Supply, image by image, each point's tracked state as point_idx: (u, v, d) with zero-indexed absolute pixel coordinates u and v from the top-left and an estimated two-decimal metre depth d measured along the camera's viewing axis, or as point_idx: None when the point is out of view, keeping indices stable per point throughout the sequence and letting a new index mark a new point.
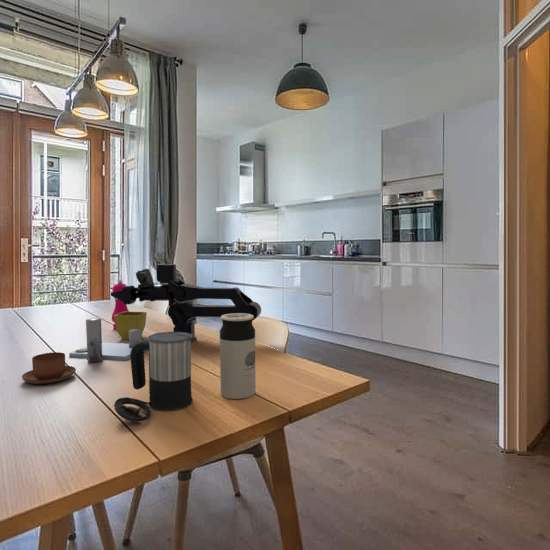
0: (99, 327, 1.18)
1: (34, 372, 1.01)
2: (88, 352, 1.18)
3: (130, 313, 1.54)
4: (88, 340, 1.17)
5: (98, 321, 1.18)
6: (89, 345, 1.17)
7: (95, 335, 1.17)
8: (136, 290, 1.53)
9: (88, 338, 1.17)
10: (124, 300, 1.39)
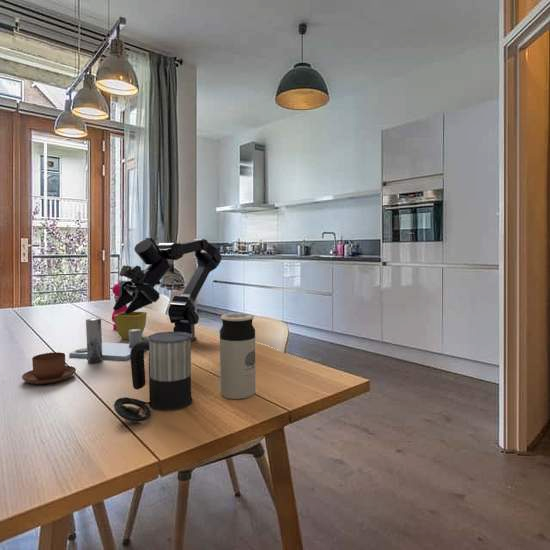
0: (99, 327, 1.18)
1: (34, 372, 1.01)
2: (88, 352, 1.18)
3: (130, 313, 1.54)
4: (88, 340, 1.17)
5: (98, 321, 1.18)
6: (89, 345, 1.17)
7: (95, 335, 1.17)
8: (123, 298, 1.30)
9: (88, 338, 1.17)
10: (154, 297, 1.22)
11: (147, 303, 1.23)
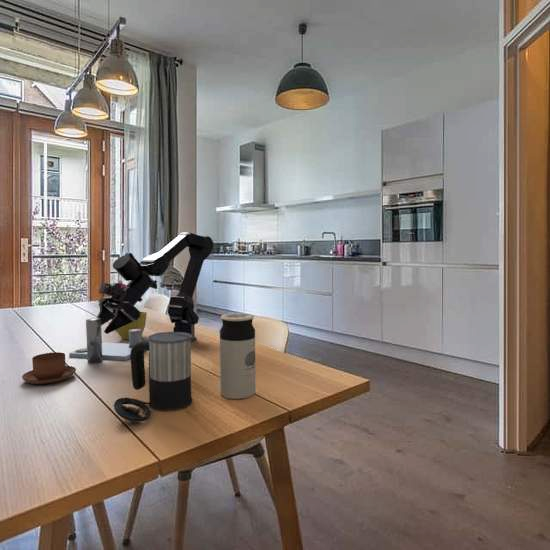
0: (99, 327, 1.18)
1: (34, 372, 1.01)
2: (88, 352, 1.18)
3: None
4: (88, 340, 1.17)
5: (98, 321, 1.18)
6: (89, 345, 1.17)
7: (95, 335, 1.17)
8: (103, 315, 1.25)
9: (88, 338, 1.17)
10: (135, 316, 1.17)
11: (128, 322, 1.19)
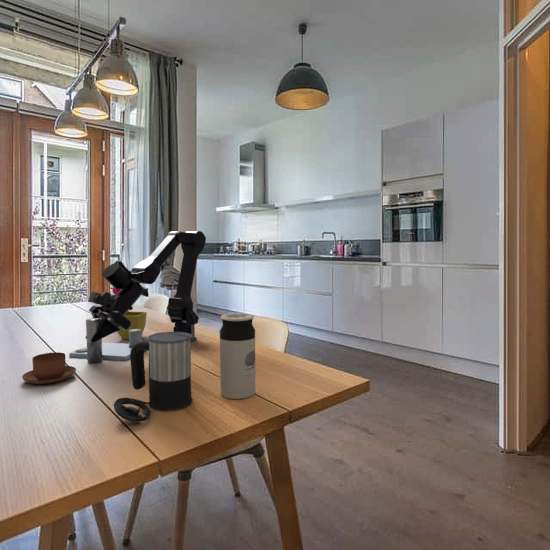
0: None
1: (34, 372, 1.01)
2: (88, 352, 1.18)
3: (130, 313, 1.54)
4: (88, 340, 1.17)
5: (98, 321, 1.18)
6: (89, 345, 1.17)
7: None
8: None
9: (88, 338, 1.17)
10: (125, 326, 1.16)
11: (114, 330, 1.19)
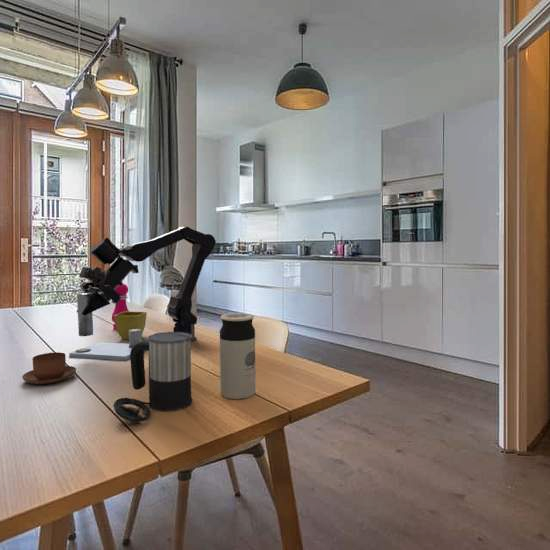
0: None
1: (34, 372, 1.01)
2: (79, 325, 1.22)
3: (130, 313, 1.54)
4: (79, 313, 1.22)
5: (88, 295, 1.22)
6: (80, 318, 1.22)
7: None
8: None
9: (79, 311, 1.22)
10: (115, 299, 1.20)
11: (105, 304, 1.23)
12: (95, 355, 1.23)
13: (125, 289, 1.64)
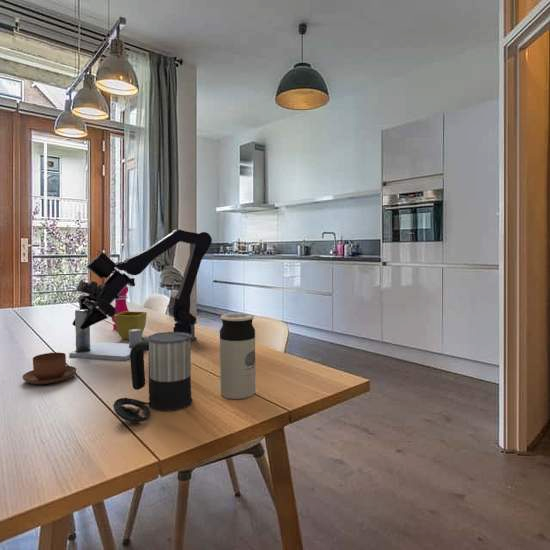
0: None
1: (35, 372, 1.01)
2: (76, 341, 1.25)
3: (130, 313, 1.54)
4: (77, 329, 1.25)
5: (86, 312, 1.25)
6: (78, 334, 1.25)
7: None
8: None
9: (77, 327, 1.25)
10: (110, 313, 1.23)
11: (103, 318, 1.25)
12: (95, 355, 1.23)
13: (125, 289, 1.64)
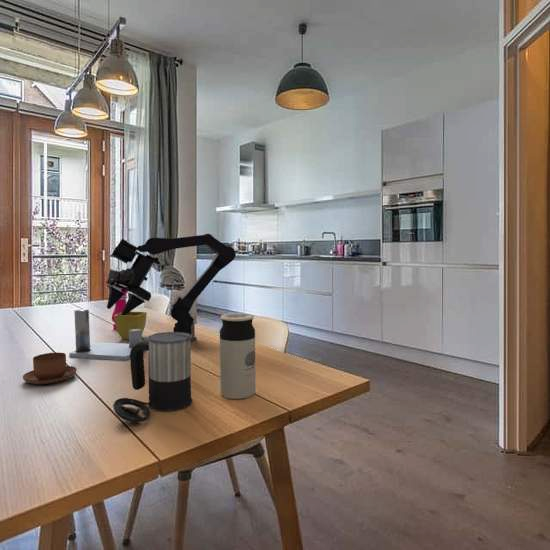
0: (87, 317, 1.26)
1: (35, 372, 1.01)
2: (76, 341, 1.25)
3: (130, 313, 1.54)
4: (76, 330, 1.25)
5: (85, 312, 1.25)
6: (77, 334, 1.25)
7: (83, 325, 1.25)
8: (114, 296, 1.39)
9: (76, 328, 1.25)
10: (147, 298, 1.32)
11: (140, 302, 1.34)
12: (95, 355, 1.23)
13: None
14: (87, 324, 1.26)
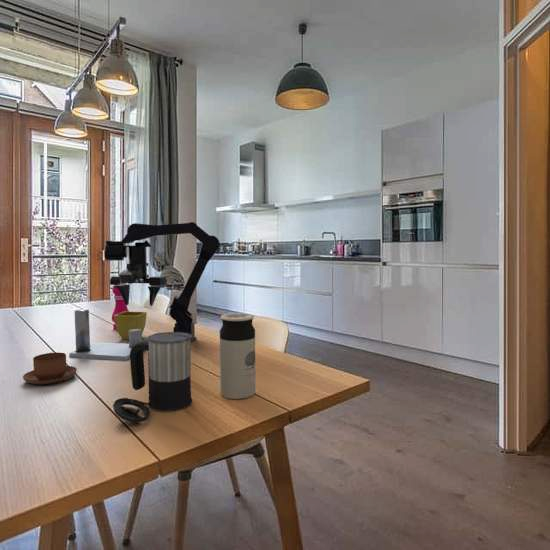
0: (87, 317, 1.26)
1: (35, 372, 1.01)
2: (76, 341, 1.25)
3: (130, 313, 1.54)
4: (76, 330, 1.25)
5: (85, 312, 1.25)
6: (78, 334, 1.25)
7: (83, 325, 1.25)
8: (125, 292, 1.42)
9: (76, 328, 1.25)
10: (165, 282, 1.41)
11: (159, 288, 1.42)
12: (95, 355, 1.23)
13: None
14: (87, 324, 1.26)
